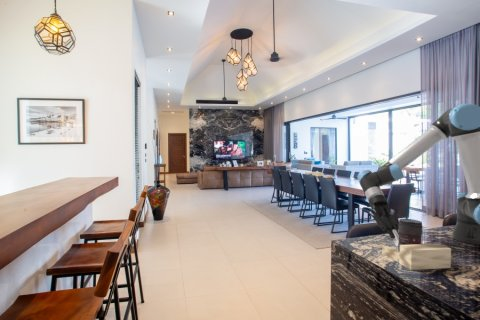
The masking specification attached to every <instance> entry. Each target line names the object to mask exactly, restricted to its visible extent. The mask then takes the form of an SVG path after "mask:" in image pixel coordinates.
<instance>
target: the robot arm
mask: <svg viewBox="0 0 480 320" xmlns="http://www.w3.org/2000/svg"><path fill="white" fill-rule="evenodd" d="M448 138H451V139H453V140H454V141H455V142H456V145H457V146H456V147H457V150H458V154H459V158H460V162H461V166H462V171H463V174H464V179H465V182H466V186H467V190H468V192H459V193H458V194H457V199H456V200H457V204H456V205H457V207H456V212H457V213H456V224H455V226H454V228H453V231H452V233H451V237H452V239H454V240H456V241H458V242H463V243H464V244H465V243H466V244H471V245H478V246H480V106H479V105H477V104H475V103H460V104H459V105H456V106H454V107H451V108H449V109H447V110H446V111H444V113H442V114H441V115H440V116H439V117H438V118H437V119H436V120H435V121H434V122H433V123H432V124H430V125H429V129H427V130H426V131H425V132H423V133H422V134H421V135H419V136H418V137H417V138H416V139H415V140H414V141H412V142H411V143H409V144H408V145H407V146H406V147H404V148H402V150H401V151H399V152H398V153H397V154H396V155H394V156H393V157H391V159H389V160H388V161H387V162H386V163H384V164H382V165H381V166H379V167H378V168H377V169H376V171H372V170H370V169H363V170H362V171H360V172H359V173H358V174H357V181H358V183H359V185H360V187H361V189H362V190H363V193H364V195H365V198H366V200H367V201H368V205H369V206H370V208H371V210H370V211H369V212H368V214H369V216H371V217H372V218H373V219H374V220H375V223H377V225H378V226H379V228H380V230H381V231H382V232H385V233H386V234H388V235H389V237H390V239H391V240H392V241H393V242H394V244H395V247H396V248H398V242H399V230H398V229H399V220H400V219H399V216H398V209H392V208H391V206H390V205H389V202H388V200H387V197H386V196H385V194H384V192H383V191H382V188H381V187H383V186H385V185H388V184H391V183H394V182H398V181H399V180H401V179H403V178H404V172H403V170H404V169H405V168H406V167H408V166H409V165H410V164H411V163H413V162H414V161H415V160H417V159H418V158H419V157H421V156H422V155H424V154H426V152H428V151H429V150H430V149H432V148H433V147H434V146H435V145H437V144H438V143H440V142H441V141H443V140H447V139H448Z"/></svg>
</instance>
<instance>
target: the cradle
mask: <svg viewBox="0 0 480 320" xmlns="http://www.w3.org/2000/svg"><path fill="white" fill-rule="evenodd" d="M381 254H383V255H385V256H387V257H389V258H391V259H392V260H394V261H396V262H397V263H399V264H400V265H402V266H404V267H405V268H406V269H409V270H410V271H413V270H414V271H416V270H417V271H419V270H433V269H434V270H436V269H451V268H452V266H451V265H452V248H450V247H447V246H445V245H442V244H439V243H421V244H413V245H400V252H399V250H396V249H394V248H392V247H390V246H388V245H382V246H381Z"/></svg>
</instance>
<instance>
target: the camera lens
mask: <svg viewBox="0 0 480 320" xmlns="http://www.w3.org/2000/svg"><path fill="white" fill-rule="evenodd" d="M398 220H399V229H398V232H399V242H398V247H397V248H398V250H397V251H398V252H400V245H413V244H422V236H423V223H422V221H421V220H417V219H413V218H399V219H398Z"/></svg>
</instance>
